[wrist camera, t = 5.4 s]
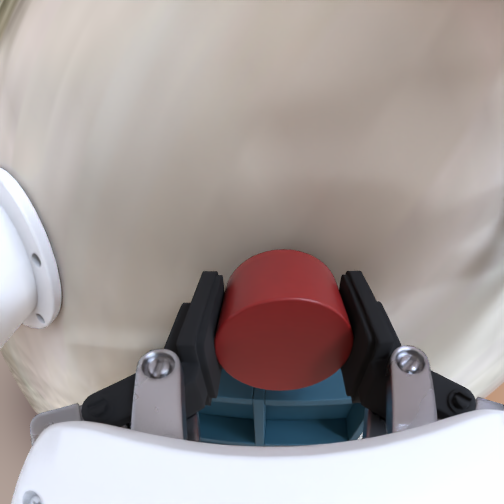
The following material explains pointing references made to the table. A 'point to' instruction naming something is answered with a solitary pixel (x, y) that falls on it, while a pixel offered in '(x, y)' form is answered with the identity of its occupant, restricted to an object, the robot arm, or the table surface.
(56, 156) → the table surface
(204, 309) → the robot arm
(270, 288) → the cylinder
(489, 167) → the table surface
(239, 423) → the grid
